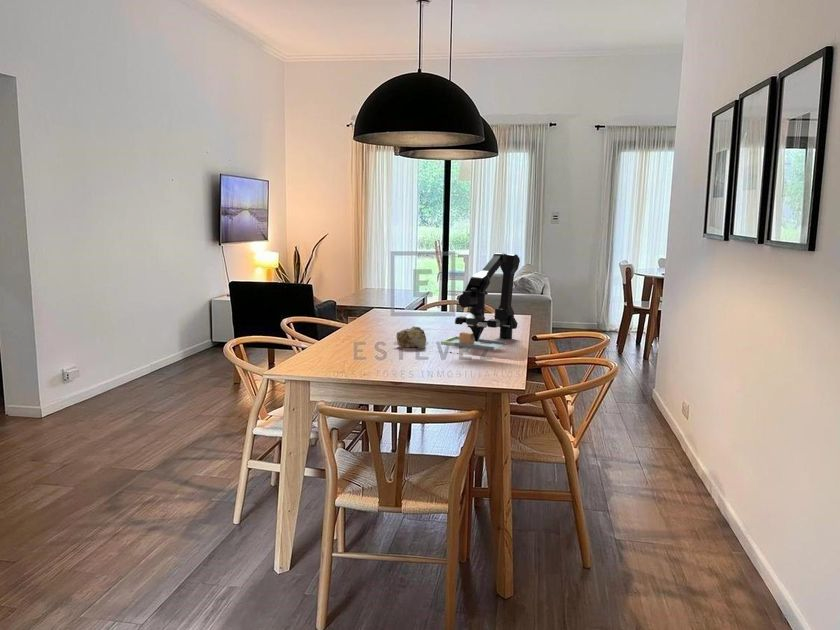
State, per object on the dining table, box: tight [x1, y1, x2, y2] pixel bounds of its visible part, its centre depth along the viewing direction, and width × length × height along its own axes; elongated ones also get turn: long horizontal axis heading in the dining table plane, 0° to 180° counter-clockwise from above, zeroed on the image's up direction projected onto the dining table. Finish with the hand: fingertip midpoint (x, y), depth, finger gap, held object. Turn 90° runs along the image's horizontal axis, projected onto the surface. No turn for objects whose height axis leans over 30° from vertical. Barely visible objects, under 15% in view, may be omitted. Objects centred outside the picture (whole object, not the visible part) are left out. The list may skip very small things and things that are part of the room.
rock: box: [396, 325, 427, 350], centre depth 268 cm, size 12×7×10 cm, turn 73°
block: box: [459, 331, 474, 344], centre depth 271 cm, size 5×5×4 cm
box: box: [440, 335, 506, 351], centre depth 271 cm, size 15×24×3 cm, turn 63°
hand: (476, 341), depth 270 cm, fingers closed
